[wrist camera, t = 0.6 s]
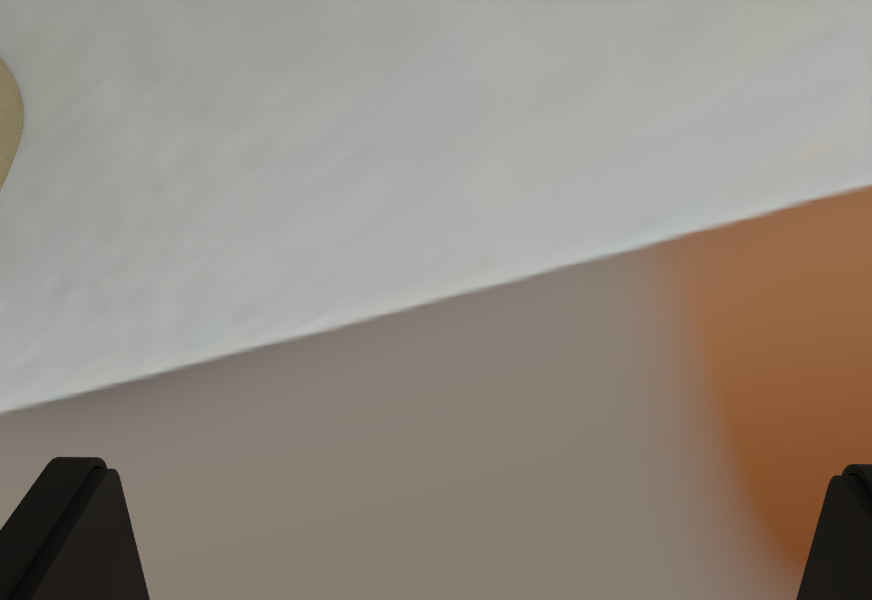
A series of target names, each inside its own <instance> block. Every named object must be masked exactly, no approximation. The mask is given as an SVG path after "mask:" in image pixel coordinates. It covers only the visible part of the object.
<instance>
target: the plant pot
mask: <svg viewBox="0 0 872 600" xmlns="http://www.w3.org/2000/svg"><path fill="white" fill-rule="evenodd" d="M23 124H24V109H23V103H22V98H21V95H20V92H19V88H18V86H17V84H16V81H15V79H14V77H13V75H12V73H11V71H10V70H9V68H8V67H7V65H6V64H5V63H4V61H3V60H2V59H1V57H0V190H1V188H2V186H3V183H4V181H5V179H6V177H7V175H8V172H9V170H10V167H11V165H12V162H13V159H14V157H15V154H16V151H17V148H18V145H19V142H20V138H21V134H22V130H23Z"/></svg>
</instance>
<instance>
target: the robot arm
mask: <svg viewBox="0 0 872 600" xmlns="http://www.w3.org/2000/svg"><path fill="white" fill-rule="evenodd" d="M0 600H150V599H149V595H148V591H147V587H146V583H145V578H144V574H143V570H142V566H141V562H140V558H139V554H138V550H137V546H136V542H135V538H134V534H133V530H132V526H131V522H130V517H129V513H128V509H127V505H126V501H125V497H124V493H123V489H122V485H121V481H120V477H119V474H118V472H117V471H116V470H115V469H107V466H106V464H105V462H104V461H103V460H102V459H101V458H97V457H57V458H54V459H52V460H51V461H50V462H49V463H48V465H47V466H46V467H45V469H44V470H43V472H42V473H41V474H40V476H39V477H38V478H37V480H36V481H35V483H34V484H33V485H32V487H31V488H30V490H29V491H28V493H27V494H26V495H25V497H24V498H23V499H22V501H21V502H20V504H19V505H18V506H17V508H16V509H15V511H14V512H13V513H12V515H11V516H10V518H9V519H8V520H7V522H6V523H5V525H4V526H3V527H2V529H1V530H0ZM796 600H872V464H871V465H870V464H869V465H868V464H867V465H866V464H852V465H848V466H847V467H846V468H845V469H844V471H843V473H842V476H833V478H832V479H831V480H830V483H829V485H828V489H827V492H826V496H825V500H824V503H823V506H822V510H821V514H820V517H819V521H818V524H817V528H816V532H815V535H814V539H813V542H812V546H811V549H810V553H809V556H808V560H807V564H806V567H805V571H804V575H803V578H802V581H801V585H800V589H799V592H798V596H797V599H796Z"/></svg>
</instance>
